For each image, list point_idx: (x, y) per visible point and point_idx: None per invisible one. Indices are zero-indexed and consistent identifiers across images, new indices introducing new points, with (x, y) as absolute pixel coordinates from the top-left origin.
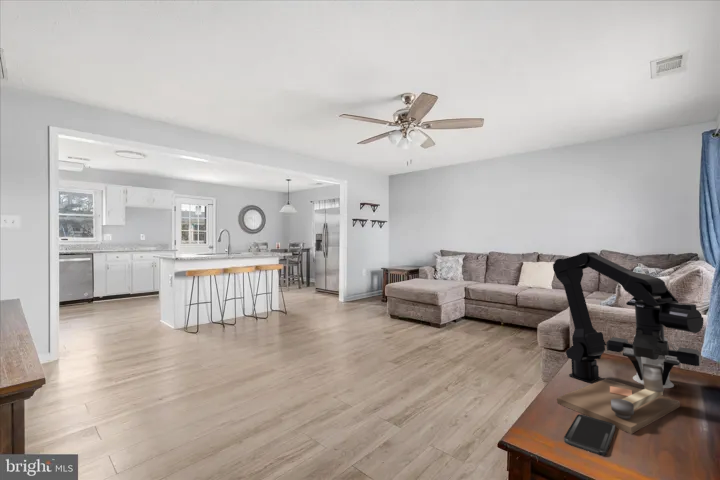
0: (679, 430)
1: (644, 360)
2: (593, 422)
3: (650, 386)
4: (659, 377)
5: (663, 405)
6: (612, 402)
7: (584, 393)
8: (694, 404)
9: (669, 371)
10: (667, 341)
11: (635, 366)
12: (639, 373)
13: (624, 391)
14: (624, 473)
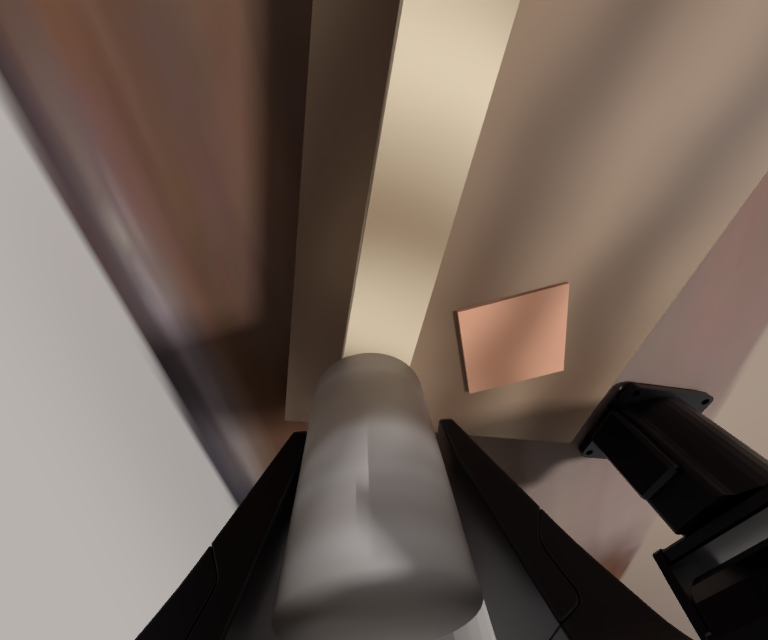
0: (168, 72)
1: (460, 633)
2: None
3: (376, 373)
4: (307, 474)
5: (315, 319)
6: None
7: (729, 142)
8: (264, 453)
9: (163, 608)
10: None
11: (549, 530)
12: (476, 462)
13: (498, 353)
14: None
